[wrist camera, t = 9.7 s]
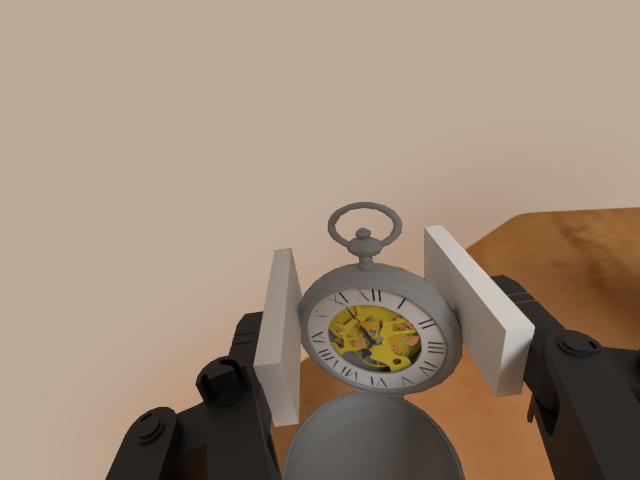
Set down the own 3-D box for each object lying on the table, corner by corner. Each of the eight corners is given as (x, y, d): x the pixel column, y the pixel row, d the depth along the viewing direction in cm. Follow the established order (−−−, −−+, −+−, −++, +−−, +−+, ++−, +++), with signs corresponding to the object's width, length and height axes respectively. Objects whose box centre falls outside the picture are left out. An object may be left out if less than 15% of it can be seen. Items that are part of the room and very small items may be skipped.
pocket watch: (313, 668, 8) (182, 456, 4) (266, 404, 16) (201, 223, 11) (554, 530, 10) (655, 269, 6) (410, 348, 17) (404, 172, 13)
